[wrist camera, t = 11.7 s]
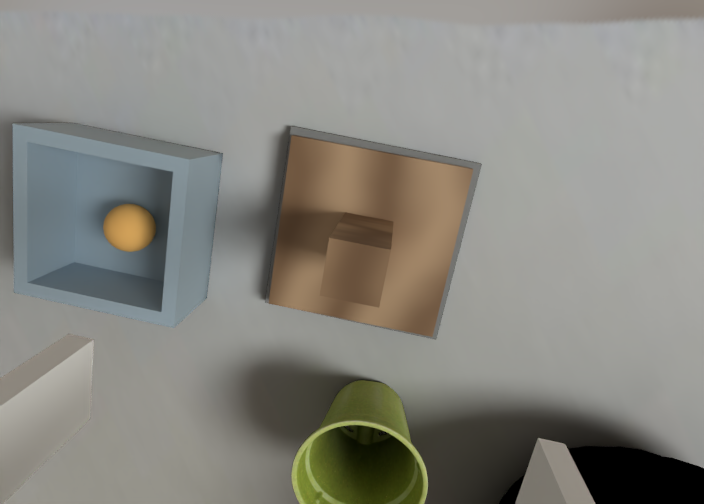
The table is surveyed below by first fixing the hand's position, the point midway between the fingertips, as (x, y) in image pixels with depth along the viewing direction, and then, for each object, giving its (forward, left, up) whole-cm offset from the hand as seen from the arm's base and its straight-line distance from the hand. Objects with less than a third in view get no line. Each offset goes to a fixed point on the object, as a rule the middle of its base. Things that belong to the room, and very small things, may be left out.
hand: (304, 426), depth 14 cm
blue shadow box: (-18, -2, -24) cm, 30 cm away
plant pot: (+3, -15, -25) cm, 29 cm away
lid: (0, 0, -24) cm, 24 cm away
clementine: (-17, -2, -22) cm, 28 cm away
